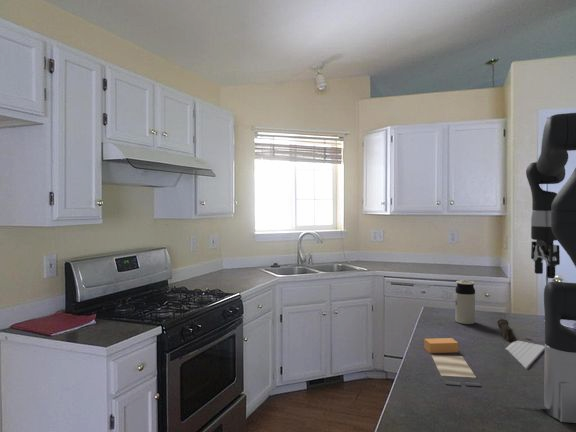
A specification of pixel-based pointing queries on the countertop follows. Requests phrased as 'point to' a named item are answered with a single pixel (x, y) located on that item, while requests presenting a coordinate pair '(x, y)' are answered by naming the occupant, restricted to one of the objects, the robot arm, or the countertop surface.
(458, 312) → the travel mug
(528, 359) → the baseboard
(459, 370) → the plywood board
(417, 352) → the countertop surface
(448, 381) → the charcoal stick
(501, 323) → the brown pointed piece
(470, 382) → the charcoal stick
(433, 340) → the block
